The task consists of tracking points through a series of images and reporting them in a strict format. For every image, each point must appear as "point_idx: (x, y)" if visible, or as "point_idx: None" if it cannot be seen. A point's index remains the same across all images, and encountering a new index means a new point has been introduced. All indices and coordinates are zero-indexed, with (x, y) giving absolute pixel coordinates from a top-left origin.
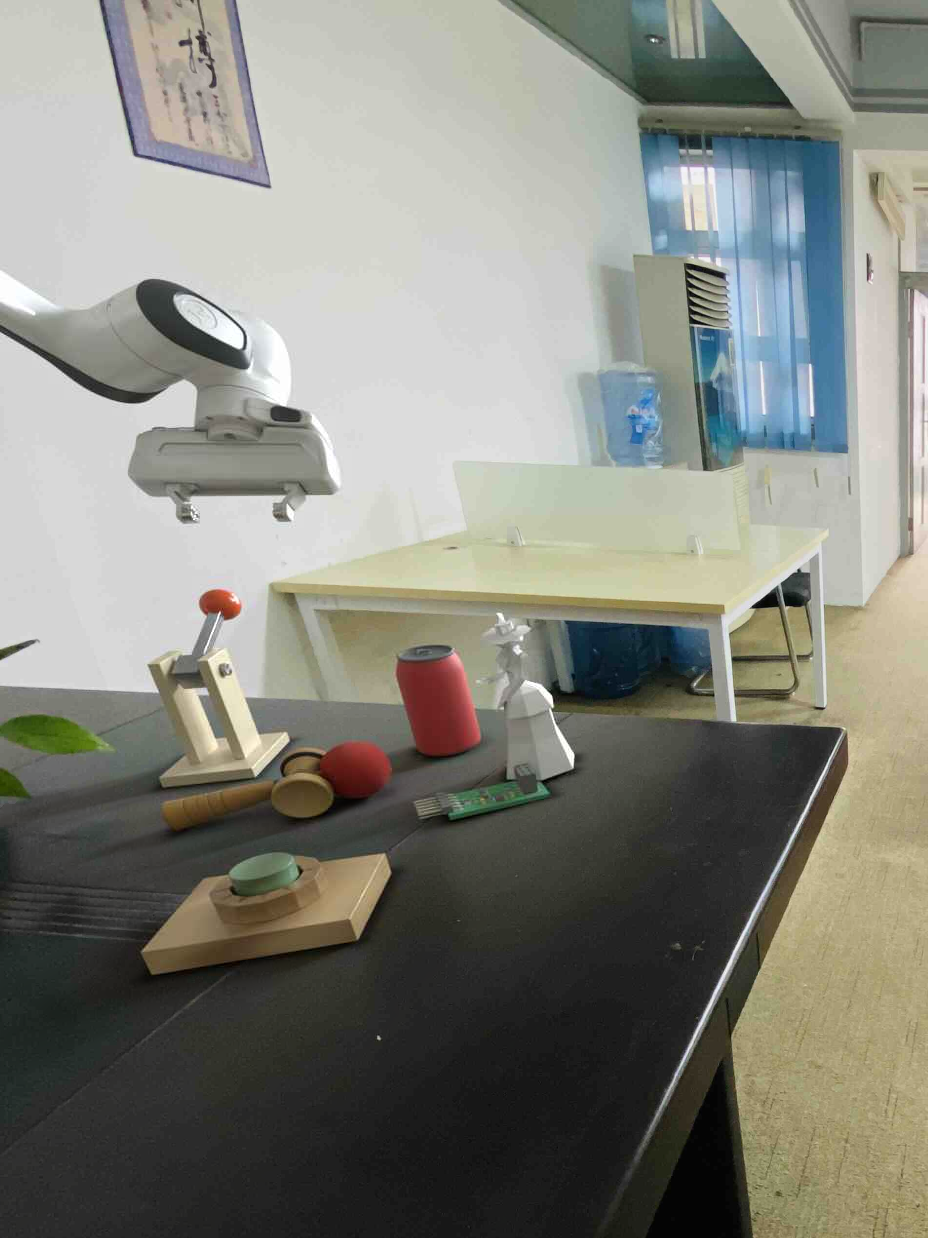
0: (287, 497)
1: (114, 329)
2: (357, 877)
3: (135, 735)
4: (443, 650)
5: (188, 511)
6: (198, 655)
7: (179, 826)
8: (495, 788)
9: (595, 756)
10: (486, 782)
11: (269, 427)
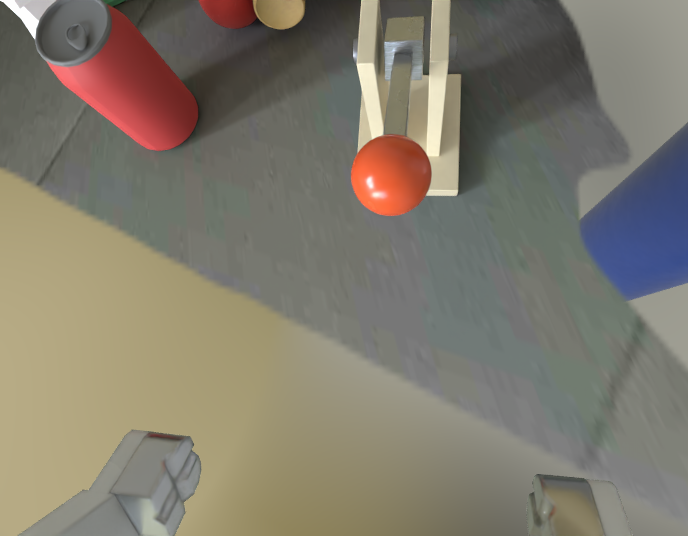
0: (63, 521)
1: None
2: None
3: (586, 285)
4: (51, 47)
5: (557, 499)
6: (391, 39)
7: None
8: None
9: (31, 56)
10: (134, 19)
11: None
